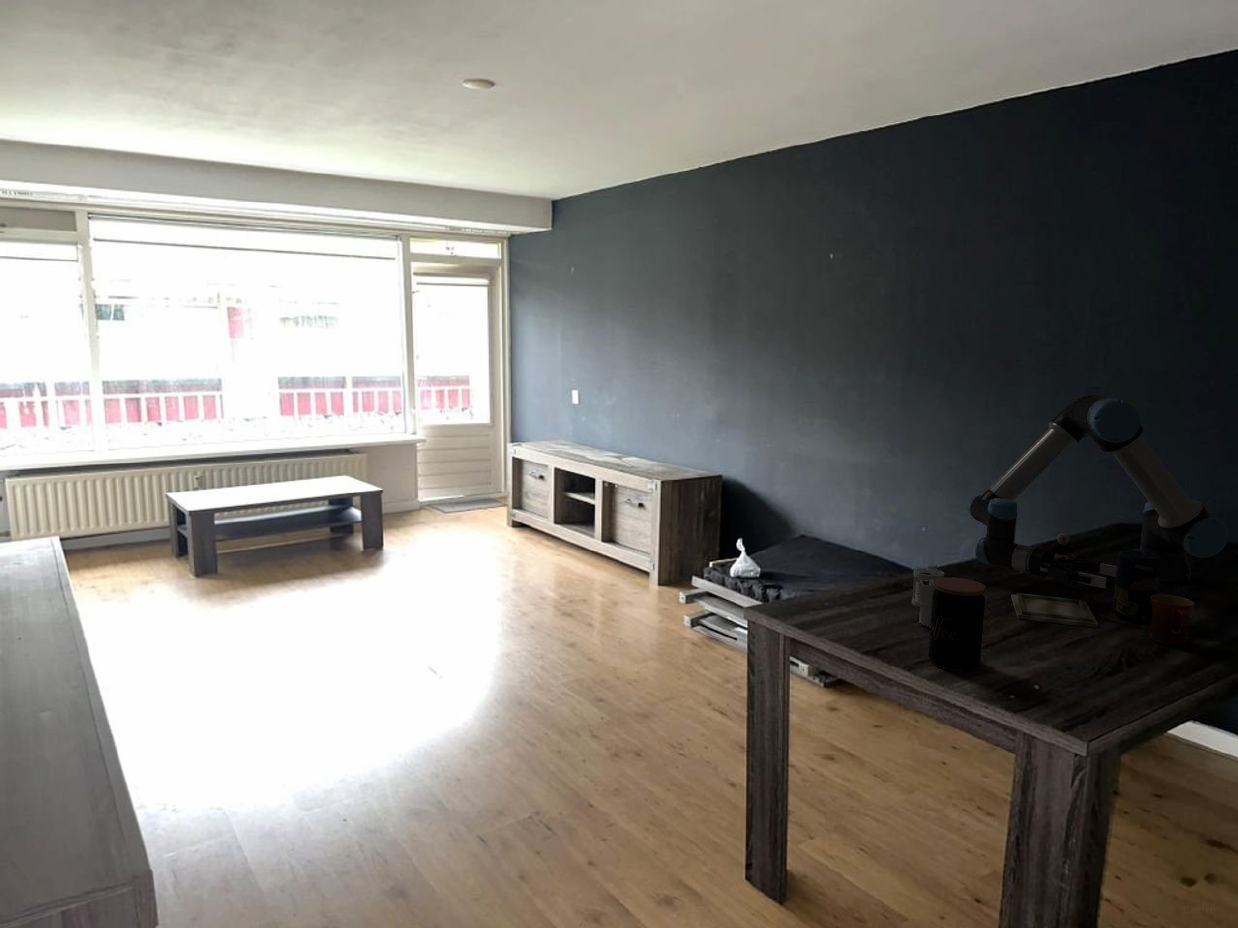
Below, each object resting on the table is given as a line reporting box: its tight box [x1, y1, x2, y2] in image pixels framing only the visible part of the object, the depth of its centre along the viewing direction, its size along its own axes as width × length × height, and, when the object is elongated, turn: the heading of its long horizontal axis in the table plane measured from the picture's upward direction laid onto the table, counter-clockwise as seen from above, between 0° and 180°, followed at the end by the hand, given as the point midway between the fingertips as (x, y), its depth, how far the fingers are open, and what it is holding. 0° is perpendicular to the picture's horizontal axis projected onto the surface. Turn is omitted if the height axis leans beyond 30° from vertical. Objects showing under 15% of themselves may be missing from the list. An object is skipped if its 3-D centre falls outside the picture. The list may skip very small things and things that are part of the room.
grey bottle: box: [911, 564, 945, 626], centre depth 202 cm, size 7×7×15 cm
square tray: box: [1011, 592, 1099, 629], centre depth 214 cm, size 18×18×2 cm
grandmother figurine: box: [1049, 532, 1077, 559], centre depth 247 cm, size 8×4×13 cm, turn 83°
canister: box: [1112, 548, 1162, 622], centre depth 208 cm, size 10×10×18 cm
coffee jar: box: [927, 576, 987, 672], centre depth 179 cm, size 11×11×18 cm
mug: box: [1149, 593, 1196, 647], centre depth 191 cm, size 12×9×10 cm
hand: (1116, 578), depth 212 cm, fingers open, 13 cm apart
